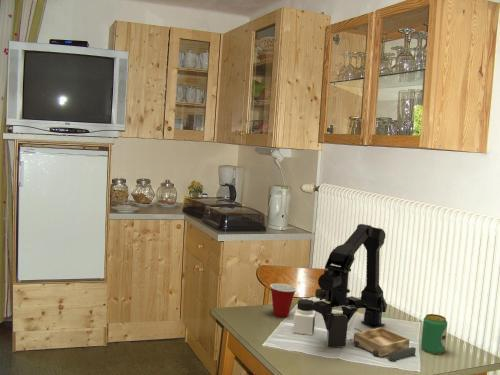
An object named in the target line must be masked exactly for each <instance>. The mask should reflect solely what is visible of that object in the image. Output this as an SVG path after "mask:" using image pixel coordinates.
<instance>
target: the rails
mask: <svg viewBox="0 0 500 375" xmlns="http://www.w3.org/2000/svg"><path fill="white" fill-rule="evenodd" d="M353 329H354V330H355V331H358V332H363V331H364V330H362V329H359V328H357V327H355V328H354V327H353ZM347 337H348V336H346V338H347ZM350 340H351V341H350ZM350 340H349V341H350V342H352V341H354V339H353V338H350ZM416 349H417V348H416V347H413V346H412V347H409V348H407V349H403V350H399V351H395V352H391V353H389V355H385V356H382V357H383V358H385V359H387V360H388V361H390V362H393V363H396V362H397V360H401V359H406V358H409V357H415V358H416V357H417V355H416ZM405 357H406V358H405Z"/></svg>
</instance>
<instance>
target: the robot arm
mask: <svg viewBox="0 0 500 375" xmlns="http://www.w3.org/2000/svg"><path fill="white" fill-rule="evenodd" d="M385 240H386V232H385V230H384V229H382V228H379V227H373V226H372V225H370V224H365V223H364V224H363V223H360V224H359V223H358V225H357V226H356V229H355V230H354V231H353V233H352V234H351V235H350V236H349V237H348V239H347V240H346V241H345V242H344V243H343V244H339V245H337V246H336V247H335V248H333V249H332V250H331V252H330V253H329V256H328V259H327V260H326V263H325V265H324V270H323V273H322V274H321V275H320V276H319V277H318V279H317V283H318V287H319V288H315V298H316V299H319V301H314V303H313V308H312V310H314V311H315V313H316V312H317V313H318V314H320V315H321V316H322V318H323V321H324V325H325V328H326V331H327V330H328V331H330V328H331V324H332V321H333V317H334V312H333V309H339V308H341V310H342V314H344V315H346V316H347V318H348V323H349V322H350V320H351V319H352V317H353V316H354V314H355V313H356V312H357V311H358V310H359V309H365V310H364V314H363V320H361V324H364V325H365V326H368V327H370V328H374V329H375V328H380V327H383V326H385V324H384V323H383V322H382V316H383V313H386V311H387V308H388V304H387V302H386V300H385V298H384V290H383V289H382V287H381V286H380V257H381V256H380V253H381V252H380V251H381V248H382V247H383V245H384V244H385ZM362 245H363V246H364V248H365V250H366V271H365V272H366V275H365V276H366V278H365V279H366V280H365V281H366V285H365V286H364V288H363V290H361V293H360V295H361V296H360V298H358V297H355V296H354V295H353V296H348V293H350V292H351V290H350V289H349V274H350V272H351V271H352V268H351V267H352V265H353V264H354V261H355V254H356V252H357V251H358V250H359V249H360V247H361V246H362ZM323 300H325V301H323Z"/></svg>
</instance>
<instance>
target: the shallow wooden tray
mask: <svg viewBox="0 0 500 375" xmlns="http://www.w3.org/2000/svg"><path fill="white" fill-rule="evenodd" d="M362 331H363V332H360V331H358V332H355V333H353V340H354V341H353V345H354V347H360V348H363V349H365V350H367V351H369V352H370V353H372V355H373V356H374V357H377V356H379V357H383V356H389V353H391V352H395V351H399V350H403V349H407V348H410V341H411V340H410V339H409V338H407V337H405V336H403V335H400V334H398V333H395V332H393V331H391V330H389V329H387V328H384V327H383V326H380V327H376V328H374V329H368V330H362Z"/></svg>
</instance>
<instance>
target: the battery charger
mask: <svg viewBox="0 0 500 375" xmlns="http://www.w3.org/2000/svg"><path fill="white" fill-rule="evenodd" d="M333 314H334V317H333V321H332V324H331V328H330V331H328V330H327V329H326V331H327V332H326V333H327V334H326V335H327V336H326V346H327V347H328V348H344V347H346V346H347V345H346V344H347V339H346V337H348V336H347V334H348V324H349V322H348V318H347V316H346V315H344V314H343V313H334V312H333Z"/></svg>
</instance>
